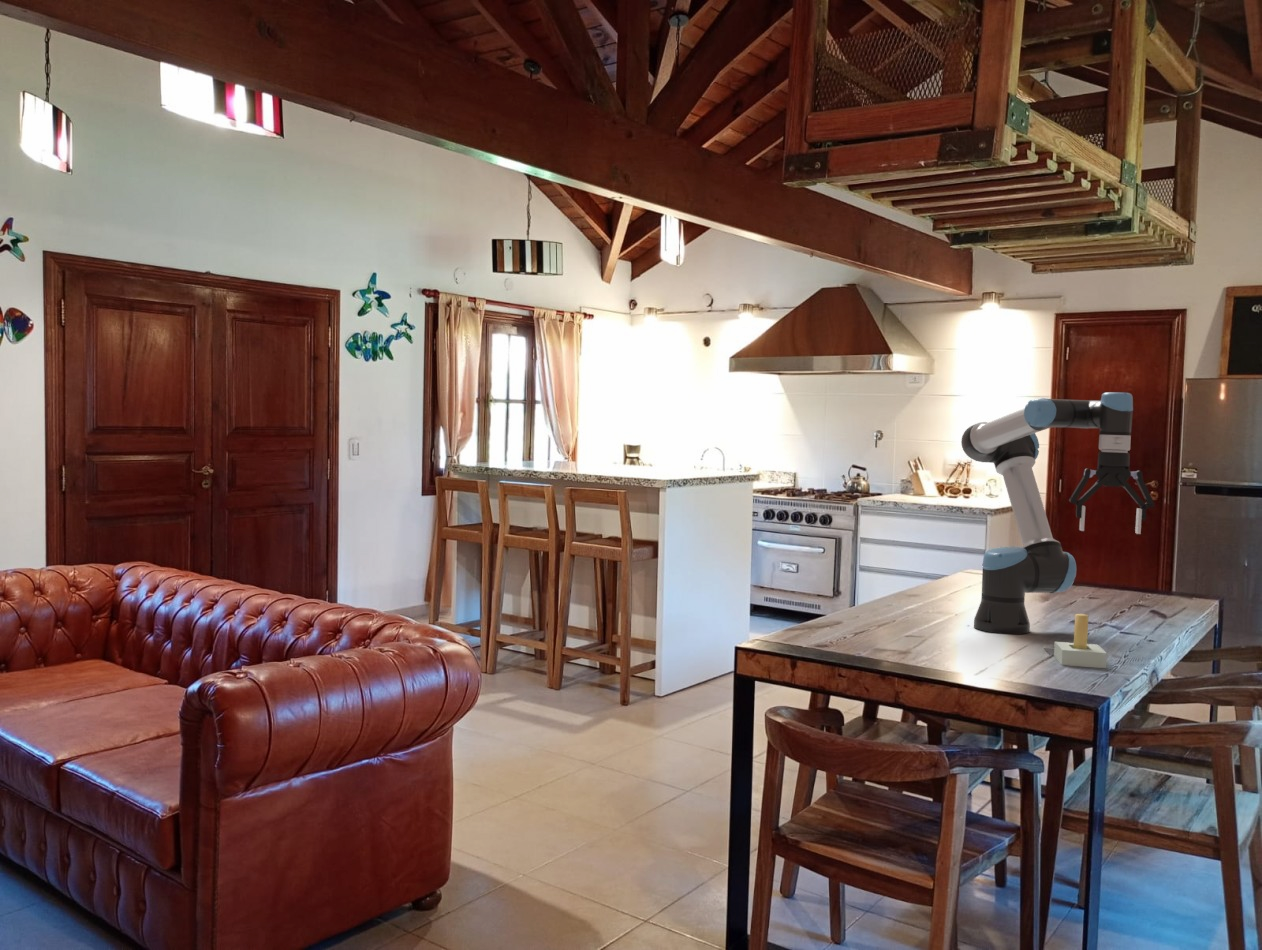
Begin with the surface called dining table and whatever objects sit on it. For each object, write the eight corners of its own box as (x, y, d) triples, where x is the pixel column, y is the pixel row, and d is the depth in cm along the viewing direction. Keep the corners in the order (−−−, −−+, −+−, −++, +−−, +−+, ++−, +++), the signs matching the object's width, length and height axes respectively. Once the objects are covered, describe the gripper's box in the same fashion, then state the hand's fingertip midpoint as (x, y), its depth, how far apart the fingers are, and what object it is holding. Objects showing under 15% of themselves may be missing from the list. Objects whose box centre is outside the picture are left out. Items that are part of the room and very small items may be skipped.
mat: (1048, 656, 255) (1049, 654, 255) (1043, 649, 263) (1043, 647, 263) (1100, 659, 252) (1100, 658, 252) (1092, 653, 260) (1092, 651, 260)
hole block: (1061, 666, 244) (1062, 649, 244) (1053, 657, 254) (1054, 641, 253) (1106, 669, 242) (1107, 653, 241) (1096, 660, 251) (1097, 644, 251)
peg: (1074, 664, 246) (1076, 615, 246) (1071, 661, 249) (1074, 613, 249) (1087, 665, 246) (1089, 616, 245) (1084, 662, 249) (1087, 614, 248)
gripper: (1065, 450, 264) (1060, 530, 265) (1170, 453, 257) (1165, 536, 258) (1060, 449, 271) (1056, 527, 272) (1163, 452, 264) (1158, 533, 265)
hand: (1109, 532), depth 265 cm, fingers open, 13 cm apart
